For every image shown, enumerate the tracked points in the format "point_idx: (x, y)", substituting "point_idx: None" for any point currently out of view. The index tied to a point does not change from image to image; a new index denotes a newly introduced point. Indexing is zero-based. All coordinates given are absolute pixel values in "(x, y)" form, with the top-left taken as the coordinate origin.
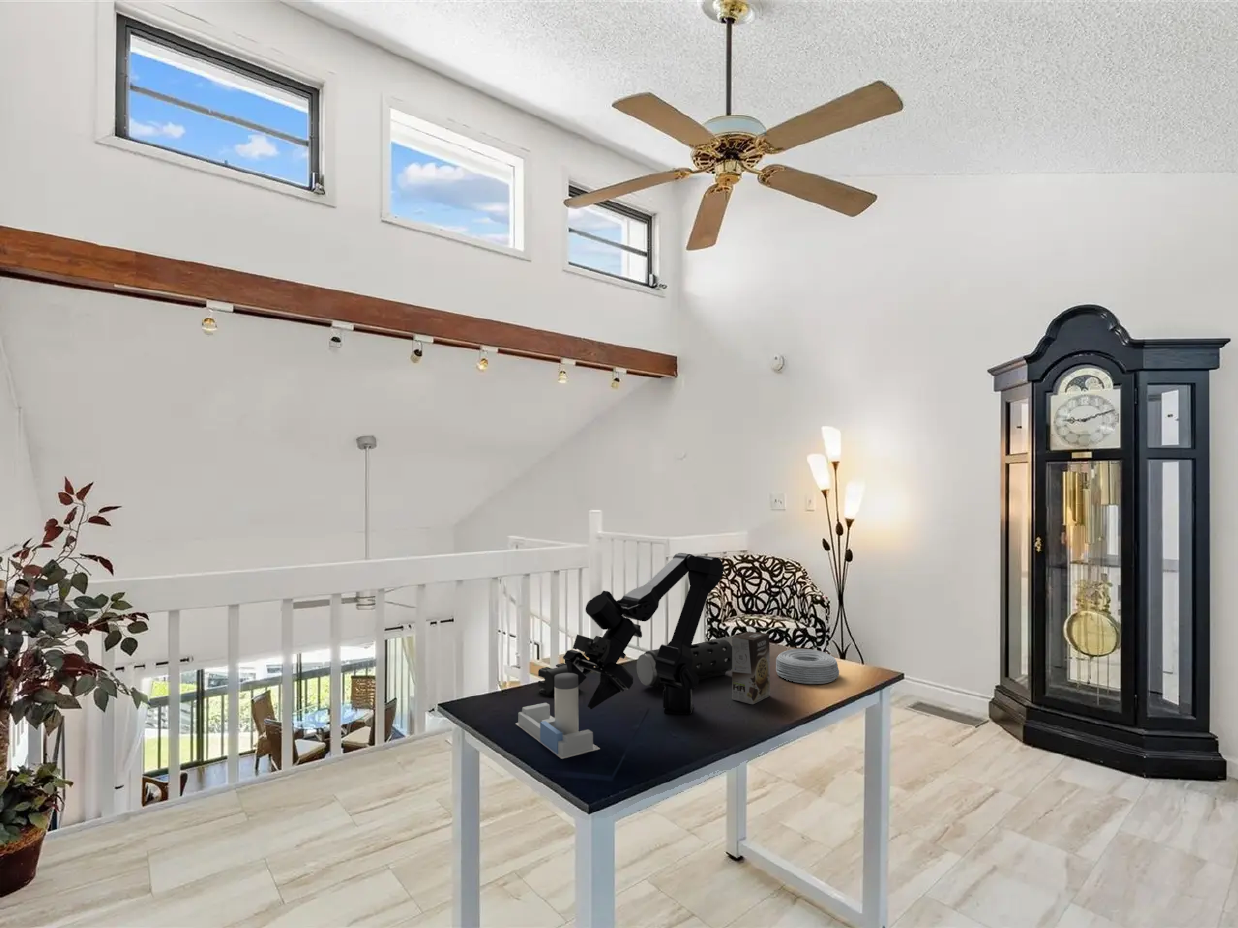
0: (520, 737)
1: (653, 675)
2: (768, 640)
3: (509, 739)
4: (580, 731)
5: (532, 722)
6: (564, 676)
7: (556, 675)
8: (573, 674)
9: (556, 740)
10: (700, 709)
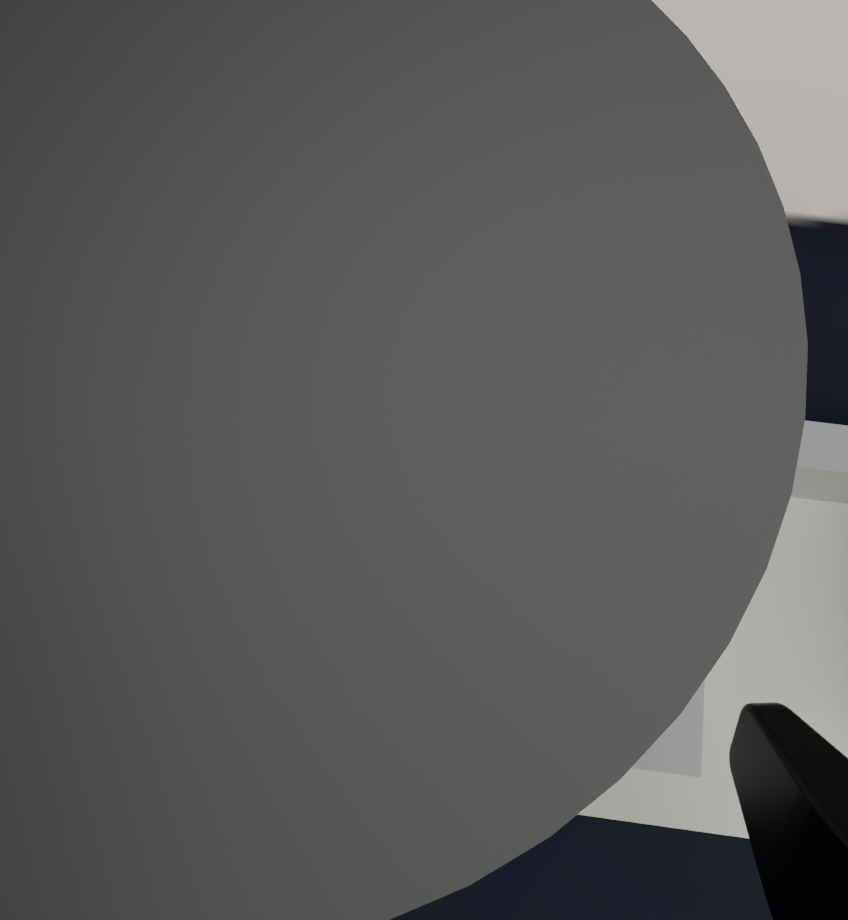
0: (812, 391)
1: None
2: None
3: (822, 304)
4: None
5: (819, 427)
6: (257, 219)
7: (618, 43)
8: (203, 772)
9: None
10: None
